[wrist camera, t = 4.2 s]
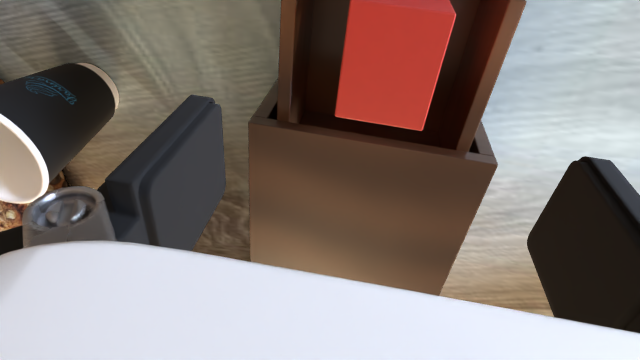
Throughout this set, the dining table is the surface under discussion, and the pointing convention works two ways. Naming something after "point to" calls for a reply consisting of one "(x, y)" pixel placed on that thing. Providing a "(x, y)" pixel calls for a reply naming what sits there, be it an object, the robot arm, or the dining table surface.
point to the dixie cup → (49, 125)
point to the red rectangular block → (392, 60)
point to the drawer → (452, 84)
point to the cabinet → (360, 201)
